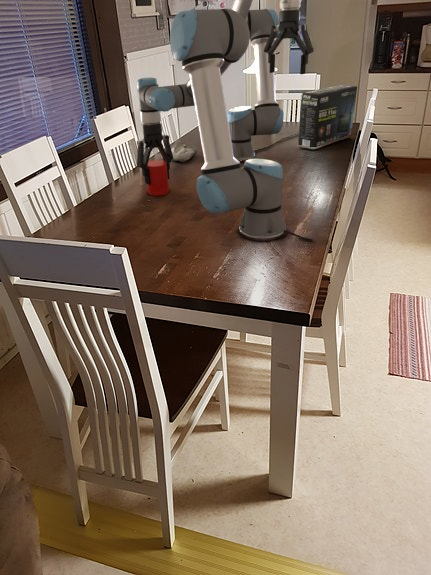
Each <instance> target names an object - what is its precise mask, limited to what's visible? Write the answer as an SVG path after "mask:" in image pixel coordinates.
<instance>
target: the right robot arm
mask: <svg viewBox="0 0 431 575" xmlns="http://www.w3.org/2000/svg"><path fill="white" fill-rule="evenodd" d="M169 34H170V35H169V46H170V51H171V55H172V56H173V59H174V60H176V61H178V62H181V67H182V70H183V71H185V72H186V73H187V74H188V75H189V79H188V80H187V82H186V83H182V84H173V85H164V86H159V82H158V79H157V78H156V77H140V78H138V79H137V82H136V84H137V85H136V86H137V97H138V103H139V104H138V105H139V111H140V121H141V123H142V124H141V132H142V136H143V138H142V139H141V140H137V141H136V145H137V155H136V156H137V157H136V167H137V168H140V169H141V172H142V176H143V177H144V184H146V185H147V184H148V185H150V184H151V182H150V173H149V168H147V165H148V162H149V161H150V158H151V153H152V152H153V150H155V149H157V150H158V152H159V154H160V156H161V158H162V157H163V158H162V159H163V161H165V162H166V163H167V174H168V180H170V170H171V163H172V161H174V160H173V154H172V150H171V149H172V147H171V143H170V135H168V134H163V124H162V113H161V112H164V113H165V112H169V111H170V110H172V109H180V108H188V107H194V108H195V113H196V119H197V125H198V131H199V137H200V143H201V148H202V153H203V154H202V155H203V159H204V163H203V165H202V166H201V168H200V172H201V175H200V176H198V177H197V179H196V192H197V196H198V198H199V201H200V202H201V204H202V206H203V207H204V209H205V211H206V210H207V212H209V213H211V214H213V215H217V214H221V213H223V214H225V213H226V214H227V213H228V212H230V211H234V210H238V209H244V211H243V213H242V216H241V220H240V222H239V226H238V232H239V235H240V236H241V237H242V238H244V239H247V240H250V241H254V242H271V241H277V240H279V239H281V238H283V237H285V235H286V234H288V235H290V236H293V237H296V238H298V239H301V240H304V241H308V242H313V238H309V237H305V236H302V235H299V234H296V233H294V232H292V231H288V230H287V223H286V221H285V216H284V214H283V210H282V200H283V181H284V180H283V179H284V174H283V173H284V172H283V171H284V169H283V166H282V164H280V162H277V161H275V160H270V159H265V158H254V159H248V160H246V161H245V162H243V163H244V164H243V167H241V162H239V161H238V160H237V159H235V158H234V155H233V149H232V142H231V136H230V130H229V123H228V117H227V113H228V111H227V105H226V99H225V93H224V86H223V81H222V76H223V75H224V74H225V72H226V71H227V70H228V68H229V67H230V66H231V65H232V64H235V63H237V62H239V61H240V60H241V58H242V57H243V56H244V54H246V52H247V50H248V47H249V45H250V41H251V40H250V32H249V27H248V25H247V22H246V21H245V19H244V18H243V17H242V16H241V15H240V14H239V13H238V12H236V11H234V10H231V9H230V8H216V9H215V8H213V9H211V8H209V9H207V8H205V9H194V8H192V9H189V10H180V11H179V12H178V13H177V14H176V15H175V16H174V18H173V20H172V22H171V26H170V33H169ZM165 150H166V152H165Z"/></svg>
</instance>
